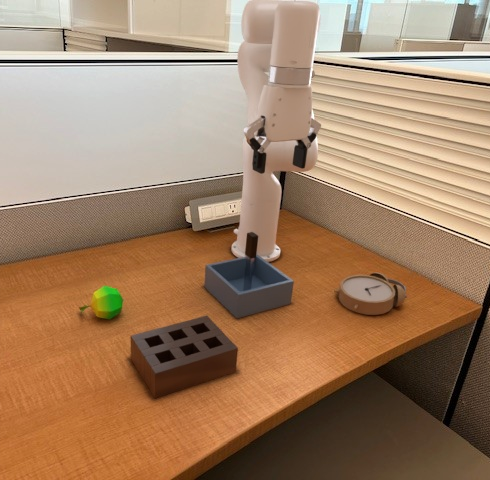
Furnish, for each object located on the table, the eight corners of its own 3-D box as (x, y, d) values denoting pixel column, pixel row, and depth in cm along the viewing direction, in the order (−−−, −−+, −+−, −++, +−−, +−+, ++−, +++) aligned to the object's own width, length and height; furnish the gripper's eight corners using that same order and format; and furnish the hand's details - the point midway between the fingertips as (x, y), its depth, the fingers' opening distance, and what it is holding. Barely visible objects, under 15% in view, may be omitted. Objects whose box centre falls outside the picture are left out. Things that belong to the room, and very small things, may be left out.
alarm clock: (328, 281, 106) (385, 262, 109) (328, 299, 108) (383, 280, 111) (360, 308, 96) (421, 286, 100) (359, 327, 98) (419, 305, 102)
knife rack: (130, 359, 84) (130, 335, 81) (205, 337, 90) (207, 315, 88) (154, 398, 75) (155, 373, 73) (235, 371, 82) (238, 348, 80)
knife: (241, 291, 105) (246, 232, 99) (246, 289, 105) (252, 231, 100) (246, 295, 103) (252, 236, 97) (252, 294, 104) (258, 235, 98)
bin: (204, 287, 107) (205, 264, 105) (254, 275, 113) (256, 253, 111) (236, 318, 96) (238, 294, 94) (290, 303, 102) (294, 280, 100)
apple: (122, 278, 94) (77, 287, 90) (131, 309, 92) (84, 319, 88) (115, 291, 100) (72, 299, 96) (123, 319, 98) (79, 329, 94)
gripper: (313, 74, 93) (301, 160, 100) (238, 75, 86) (231, 168, 93) (340, 79, 87) (325, 170, 94) (262, 80, 80) (252, 179, 87)
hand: (278, 169), depth 94 cm, fingers open, 9 cm apart
